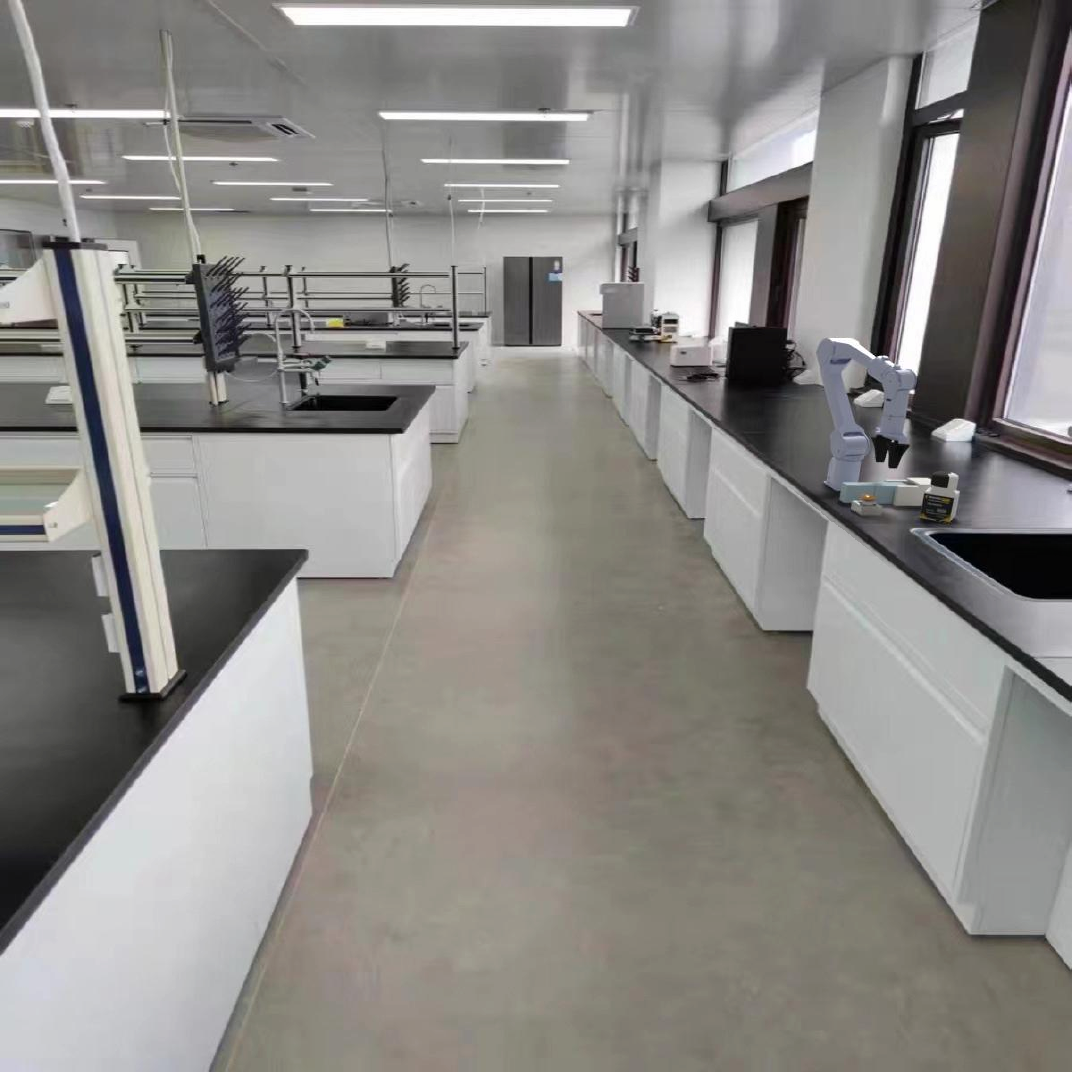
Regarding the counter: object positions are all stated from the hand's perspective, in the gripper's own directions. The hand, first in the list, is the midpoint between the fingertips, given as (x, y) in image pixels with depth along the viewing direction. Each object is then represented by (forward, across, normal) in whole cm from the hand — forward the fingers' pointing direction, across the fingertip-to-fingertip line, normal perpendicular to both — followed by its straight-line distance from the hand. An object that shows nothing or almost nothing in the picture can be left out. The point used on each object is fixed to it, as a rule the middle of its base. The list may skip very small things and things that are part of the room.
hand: (886, 465), depth 209 cm
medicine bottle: (+11, +15, +8) cm, 20 cm away
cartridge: (+10, +2, -3) cm, 10 cm away
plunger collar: (+10, +12, -9) cm, 18 cm away
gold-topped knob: (+10, +12, -9) cm, 18 cm away
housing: (+10, +1, +8) cm, 13 cm away
